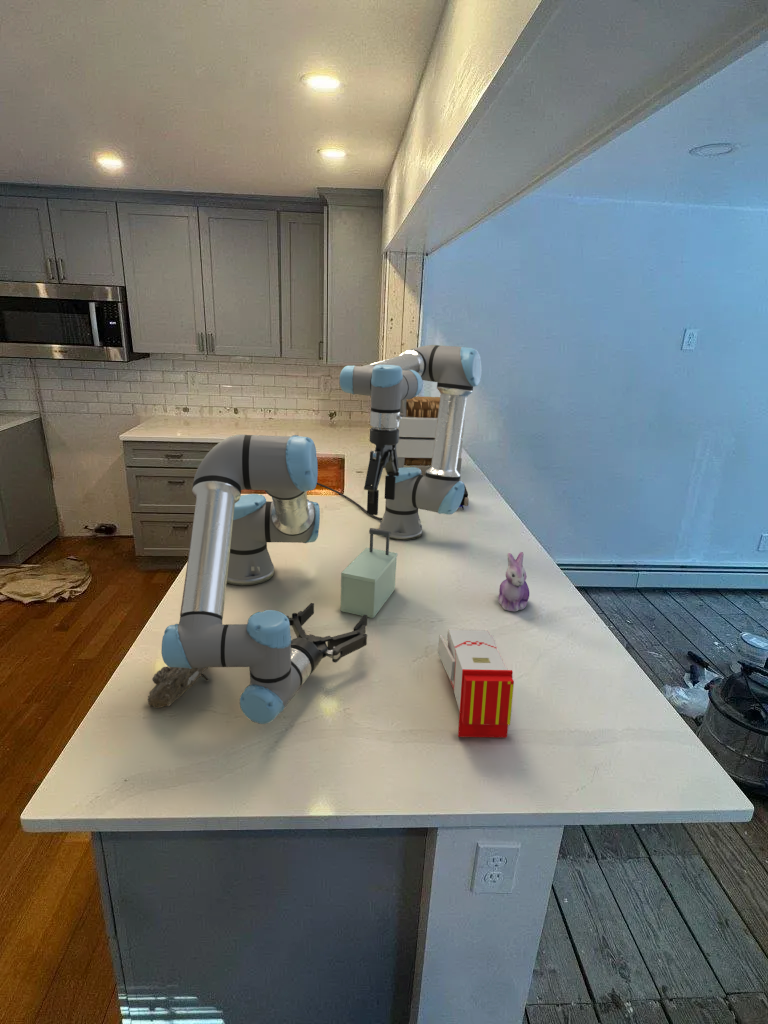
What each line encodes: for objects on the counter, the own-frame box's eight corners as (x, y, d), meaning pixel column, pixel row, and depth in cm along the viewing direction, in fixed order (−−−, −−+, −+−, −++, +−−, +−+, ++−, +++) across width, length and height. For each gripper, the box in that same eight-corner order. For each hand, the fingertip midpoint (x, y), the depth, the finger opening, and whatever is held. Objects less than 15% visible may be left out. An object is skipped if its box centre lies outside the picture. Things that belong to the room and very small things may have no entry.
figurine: (511, 616, 149) (518, 564, 143) (487, 598, 157) (493, 549, 152) (539, 609, 153) (547, 558, 148) (514, 592, 161) (521, 544, 156)
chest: (364, 583, 163) (365, 551, 160) (394, 589, 160) (396, 557, 157) (340, 611, 148) (341, 576, 144) (373, 618, 145) (374, 583, 142)
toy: (488, 613, 130) (523, 677, 101) (484, 667, 133) (517, 744, 104) (435, 612, 130) (455, 676, 101) (432, 666, 133) (451, 743, 103)
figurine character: (468, 514, 225) (463, 498, 239) (470, 497, 222) (465, 482, 235) (451, 514, 225) (447, 498, 238) (453, 497, 222) (449, 481, 235)
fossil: (174, 630, 128) (220, 599, 123) (204, 658, 131) (250, 629, 126) (125, 701, 108) (178, 668, 103) (161, 733, 111) (215, 702, 106)
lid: (366, 550, 160) (367, 524, 157) (397, 556, 157) (398, 529, 155) (341, 576, 144) (341, 547, 142) (374, 583, 141) (376, 553, 139)
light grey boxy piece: (382, 463, 289) (386, 382, 275) (445, 464, 293) (451, 384, 279) (390, 482, 257) (394, 392, 243) (460, 483, 261) (468, 394, 247)
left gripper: (243, 664, 119) (291, 616, 138) (352, 693, 112) (387, 639, 131) (241, 633, 117) (291, 589, 136) (353, 661, 109) (389, 610, 128)
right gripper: (382, 438, 132) (378, 523, 139) (412, 421, 154) (408, 495, 162) (352, 435, 135) (350, 518, 142) (386, 418, 157) (383, 491, 164)
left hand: (338, 613), depth 133 cm, fingers open, 13 cm apart
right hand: (381, 506), depth 152 cm, fingers open, 13 cm apart
